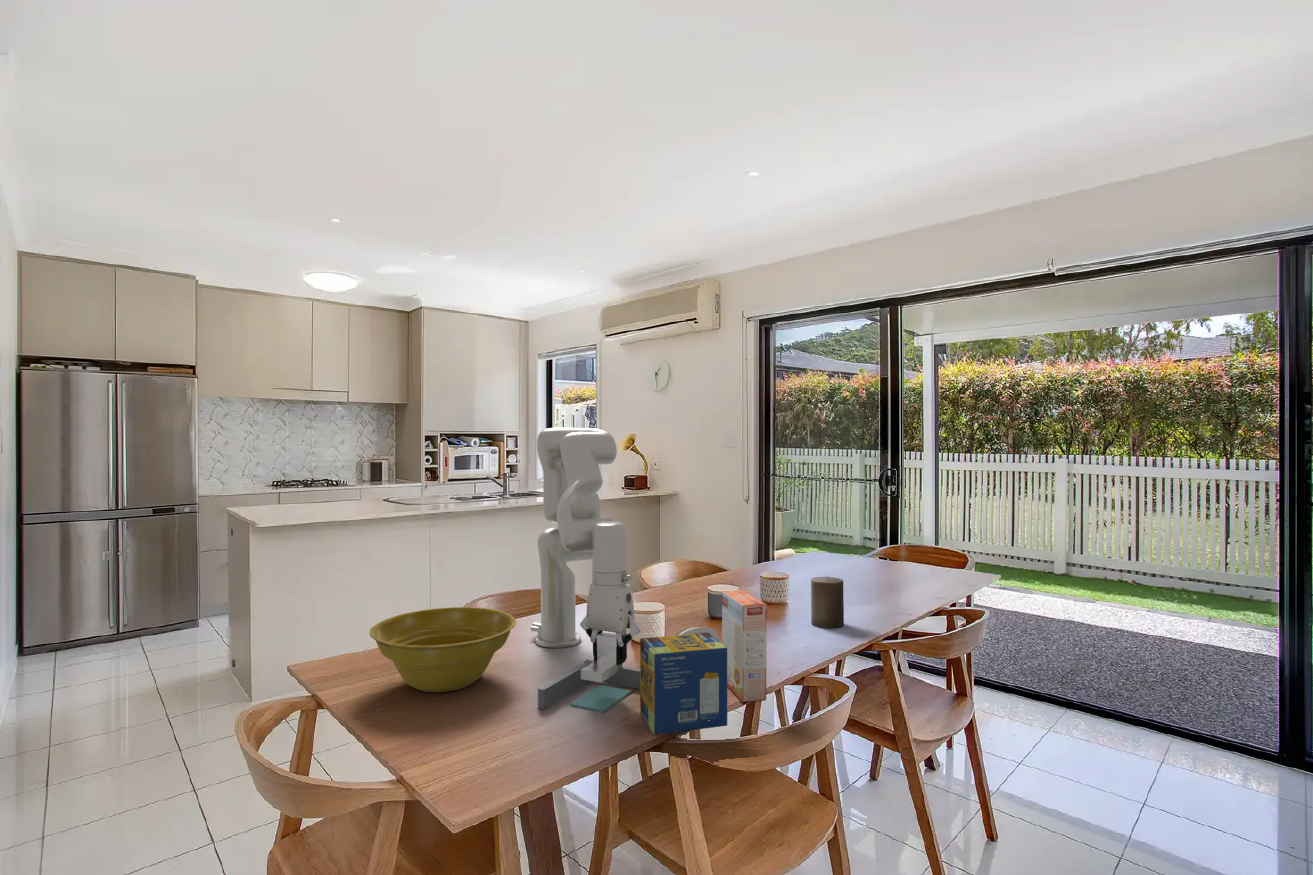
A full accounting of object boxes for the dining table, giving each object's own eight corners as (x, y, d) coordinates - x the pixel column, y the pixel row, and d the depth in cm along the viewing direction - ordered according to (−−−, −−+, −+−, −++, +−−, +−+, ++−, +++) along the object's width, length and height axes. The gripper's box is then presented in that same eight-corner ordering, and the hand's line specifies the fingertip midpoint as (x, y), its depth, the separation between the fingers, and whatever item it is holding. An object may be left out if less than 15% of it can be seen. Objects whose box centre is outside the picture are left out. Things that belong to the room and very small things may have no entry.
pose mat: (570, 705, 137) (570, 703, 137) (600, 686, 147) (600, 684, 147) (603, 712, 133) (603, 710, 133) (631, 692, 144) (631, 690, 144)
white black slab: (681, 676, 154) (672, 633, 157) (669, 678, 157) (659, 636, 160) (730, 660, 165) (720, 621, 167) (717, 662, 168) (707, 623, 171)
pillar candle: (847, 629, 193) (847, 578, 193) (814, 628, 193) (814, 578, 194) (838, 620, 203) (838, 572, 203) (807, 620, 203) (807, 572, 203)
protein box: (639, 713, 133) (639, 637, 133) (710, 705, 137) (709, 631, 137) (653, 736, 123) (652, 653, 123) (729, 726, 127) (728, 646, 127)
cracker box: (768, 701, 139) (768, 603, 139) (741, 703, 138) (741, 604, 138) (745, 678, 153) (745, 589, 153) (721, 680, 151) (720, 590, 152)
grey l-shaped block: (602, 666, 145) (602, 632, 145) (622, 669, 143) (622, 635, 143) (580, 679, 137) (580, 643, 137) (601, 682, 135) (601, 646, 135)
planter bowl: (544, 673, 156) (544, 617, 156) (437, 722, 129) (437, 654, 129) (450, 651, 173) (450, 600, 173) (338, 691, 145) (338, 630, 145)
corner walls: (536, 707, 136) (536, 688, 136) (587, 676, 154) (587, 659, 154) (613, 724, 128) (613, 703, 128) (657, 689, 146) (657, 671, 146)
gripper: (651, 578, 143) (652, 661, 143) (585, 572, 151) (585, 651, 150) (635, 585, 136) (636, 672, 136) (567, 578, 144) (567, 661, 143)
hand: (609, 660), depth 143 cm, fingers closed on grey l-shaped block, 5 cm apart
